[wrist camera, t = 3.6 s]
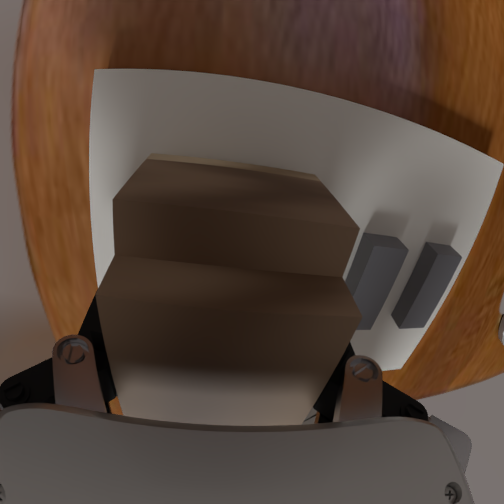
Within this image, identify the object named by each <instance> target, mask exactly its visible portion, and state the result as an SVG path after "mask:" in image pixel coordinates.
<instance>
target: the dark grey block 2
mask: <svg viewBox="0 0 504 504" xmlns="http://www.w3.org/2000/svg"><path fill="white" fill-rule="evenodd" d="M461 259H462V256H461V255H460V254H459V253H458V252H456V251H455V250H454V249H453V248H452V247H451V246H450V245H444V244H437V243H431V242H426V243H425V245H424V247H423V250H422V252H421V254H420V257H419V259H418V261H417V263H416V265H415V267H414V270H413V272H412V274H411V276H410V278H409V280H408V282H407V284H406V286H405V288H404V290H403V292H402V294H401V296H400V298H399V300H398V302H397V304H396V306H395V308H394V310H393V312H392V313H391V316H392V318H393V320H394V321H395V323H396V325H397V326H398V328H399V329H407V328H424V326H425V325H426V323H427V321H428V320H429V318H430V316H431V315H432V313H433V311H434V310H435V308H436V306H437V304H438V303H439V301H440V299H441V297H442V296H443V294H444V292H445V290H446V288H447V286H448V284H449V283H450V281H451V279H452V277H453V275H454V273H455V271H456V269H457V267H458V265H459V263H460V261H461Z"/></svg>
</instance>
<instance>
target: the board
mask: <svg viewBox="0 0 504 504" xmlns="http://www.w3.org/2000/svg"><path fill="white" fill-rule="evenodd" d="M151 153H154V154H167V155H178V156H188V157H198V158H207V159H216V160H224V161H232V162H239V163H247V164H254V165H261V166H267V167H274V168H280V169H286V170H292V171H298V172H304V173H309V174H315V175H316V176H317V177H318V179H319V180H320V181H321V182H322V183H323V184H324V185H325V187H326V188H327V189H328V190H329V191H330V192H331V194H332V195H333V196H334V197H335V198H336V200H337V201H338V202H339V203H340V204H341V206H342V207H343V208H344V209H345V210H346V212H347V213H348V214H349V215H350V217H351V218H352V219H353V220H354V221H355V223H356V224H357V225H358V226H359V228H360V230H359V233H358V236H357V239H356V242H355V245H354V247H353V250H352V253H351V256H350V258H349V261H348V264H347V266H346V269H345V272H344V274H343V279H344V281H345V280H346V278H347V275H348V272H349V270H350V267H351V265H352V262H353V259H354V257H355V254H356V251H357V249H358V246H359V243H360V240H361V238H362V235H363V232H364V233H371V234H378V235H385V236H392V237H397V238H398V239H399V240H400V241H401V242H402V243H403V244H404V245H405V246H406V247H407V248H408V250H409V251H408V254H407V256H406V258H405V260H404V263H403V265H402V267H401V269H400V272H399V274H398V276H397V278H396V280H395V282H394V284H393V286H392V289H391V291H390V293H389V295H388V297H387V299H386V301H385V303H384V305H383V307H382V309H381V311H380V313H379V315H378V317H377V318H376V320H375V322H374V324H373V326H372V328H371V330H356V331H355V333H354V335H353V337H352V339H351V340H350V343H351V345H352V348H353V350H354V352H355V355H363V356H367V357H370V358H371V359H373V360H374V361H376V362H377V363H378V365H379V366H380V368H381V370H382V371H385V370H394V369H401V368H402V366H403V365H404V363H405V362H406V361H407V359H408V358H409V356H410V355H411V353H412V352H413V350H414V349H415V347H416V346H417V344H418V343H419V341H420V340H421V338H422V337H423V335H424V334H425V332H426V330H427V329H428V327H429V326H430V324H431V322H432V321H433V319H434V317H435V316H436V314H437V312H438V311H439V309H440V307H441V305H442V304H443V302H444V300H445V298H446V297H447V295H448V293H449V291H450V289H451V288H452V286H453V284H454V282H455V280H456V278H457V276H458V274H459V272H460V270H461V268H462V266H463V264H464V262H465V260H466V258H467V256H468V254H469V252H470V250H471V248H472V246H473V243H474V241H475V239H476V237H477V234H478V232H479V230H480V227H481V225H482V223H483V220H484V218H485V215H486V213H487V210H488V208H489V205H490V203H491V200H492V197H493V195H494V192H495V189H496V186H497V183H498V180H499V178H500V175H501V171H502V168H503V165H504V164H503V163H501V162H499V161H497V160H495V159H493V158H491V157H490V156H488V155H486V154H484V153H482V152H480V151H478V150H476V149H474V148H472V147H470V146H467V145H465V144H463V143H461V142H459V141H457V140H454V139H452V138H450V137H448V136H445V135H443V134H441V133H438V132H436V131H434V130H431V129H429V128H426V127H424V126H421V125H419V124H416V123H414V122H411V121H408V120H406V119H403V118H400V117H397V116H395V115H392V114H389V113H386V112H383V111H380V110H377V109H374V108H371V107H368V106H364V105H361V104H358V103H355V102H351V101H348V100H344V99H341V98H337V97H333V96H329V95H326V94H322V93H318V92H313V91H309V90H305V89H300V88H296V87H291V86H286V85H282V84H276V83H271V82H266V81H260V80H254V79H248V78H241V77H234V76H227V75H219V74H210V73H201V72H190V71H176V70H159V69H95V70H94V80H93V90H92V102H91V117H90V142H89V185H90V210H91V226H92V239H93V249H94V259H95V268H96V276H97V283H98V288H99V286H100V284H101V282H102V280H103V278H104V275H105V273H106V271H107V269H108V267H109V265H110V263H111V261H112V259H113V257H114V255H115V253H114V235H113V201H112V199H113V198H114V197H115V196H116V194H117V193H118V192H119V191H120V189H121V188H122V187H123V186H124V184H125V183H126V182H127V181H128V180H129V178H130V177H131V176H132V175H133V174H134V172H135V171H136V170H137V169H138V168H139V167H140V165H141V164H142V163H143V162H144V161H145V160H146V159H147V157H148V156H149V155H150V154H151ZM426 242H431V243H437V244H444V245H450V246H451V247H452V248H453V249H454V250H455V251H456V252H458V253H459V254H460V255H461V256H462V259H461V261H460V263H459V265H458V267H457V269H456V271H455V273H454V275H453V277H452V279H451V281H450V283H449V284H448V286H447V288H446V290H445V292H444V294H443V296H442V297H441V299H440V301H439V303H438V304H437V306H436V308H435V310H434V311H433V313H432V315H431V316H430V318H429V320H428V321H427V323H426V325H425V326H424V328H407V329H399V328H398V326H397V325H396V323H395V321H394V320H393V318H392V316H391V313H392V312H393V310H394V308H395V306H396V304H397V302H398V300H399V298H400V296H401V294H402V292H403V290H404V288H405V286H406V284H407V282H408V280H409V278H410V276H411V274H412V272H413V270H414V267H415V265H416V263H417V261H418V259H419V257H420V254H421V252H422V250H423V247H424V245H425V243H426Z"/></svg>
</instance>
